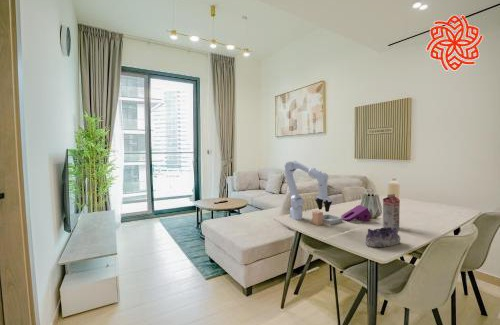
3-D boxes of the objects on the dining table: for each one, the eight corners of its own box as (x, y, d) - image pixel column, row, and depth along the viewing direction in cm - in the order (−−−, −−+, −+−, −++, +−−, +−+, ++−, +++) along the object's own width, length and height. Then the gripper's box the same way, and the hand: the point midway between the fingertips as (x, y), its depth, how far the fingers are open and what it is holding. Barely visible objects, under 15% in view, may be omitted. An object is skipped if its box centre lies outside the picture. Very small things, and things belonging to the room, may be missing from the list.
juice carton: (382, 226, 156) (383, 194, 155) (389, 225, 159) (390, 193, 157) (392, 229, 150) (392, 195, 149) (399, 228, 153) (399, 194, 151)
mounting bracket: (351, 231, 166) (372, 218, 168) (346, 221, 165) (367, 208, 167) (343, 227, 175) (363, 214, 178) (338, 217, 174) (358, 204, 177)
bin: (316, 221, 171) (316, 216, 171) (327, 218, 177) (327, 213, 177) (330, 226, 160) (330, 221, 160) (342, 223, 166) (342, 218, 165)
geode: (379, 252, 119) (376, 232, 120) (361, 246, 130) (358, 228, 131) (405, 243, 127) (403, 224, 128) (386, 239, 138) (383, 221, 139)
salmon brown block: (312, 223, 164) (312, 211, 163) (317, 221, 166) (317, 210, 166) (317, 225, 160) (317, 213, 159) (323, 223, 162) (323, 212, 161)
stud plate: (308, 224, 165) (308, 218, 164) (317, 222, 169) (317, 216, 169) (317, 227, 157) (317, 221, 157) (327, 225, 161) (327, 219, 161)
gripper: (334, 191, 155) (335, 211, 156) (321, 188, 169) (322, 207, 170) (325, 192, 153) (326, 213, 154) (313, 189, 167) (313, 208, 168)
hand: (323, 210), depth 162 cm, fingers open, 7 cm apart
